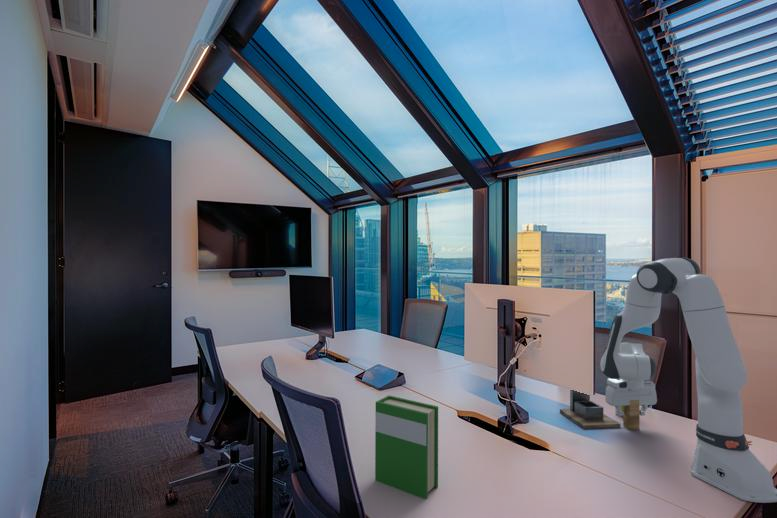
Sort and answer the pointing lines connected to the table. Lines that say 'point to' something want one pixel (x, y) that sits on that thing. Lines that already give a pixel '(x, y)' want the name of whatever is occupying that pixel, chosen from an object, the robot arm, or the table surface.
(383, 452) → the hardback book
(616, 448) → the table surface
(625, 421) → the oak rail end
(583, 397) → the grey open holder
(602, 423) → the walnut base board
